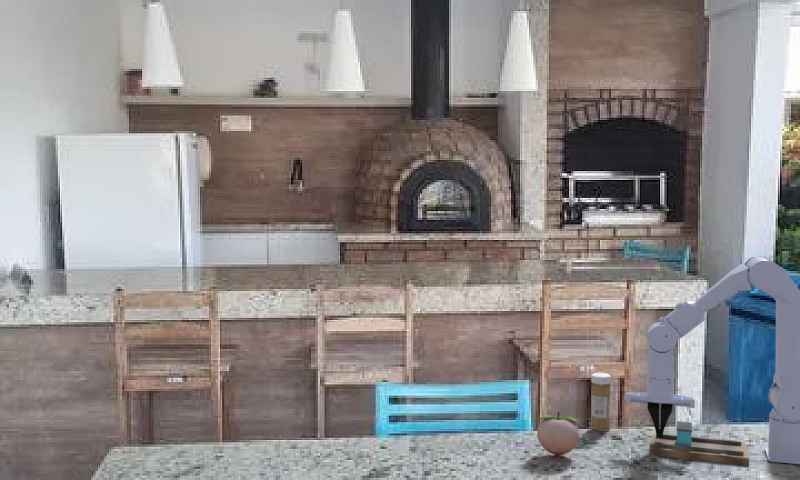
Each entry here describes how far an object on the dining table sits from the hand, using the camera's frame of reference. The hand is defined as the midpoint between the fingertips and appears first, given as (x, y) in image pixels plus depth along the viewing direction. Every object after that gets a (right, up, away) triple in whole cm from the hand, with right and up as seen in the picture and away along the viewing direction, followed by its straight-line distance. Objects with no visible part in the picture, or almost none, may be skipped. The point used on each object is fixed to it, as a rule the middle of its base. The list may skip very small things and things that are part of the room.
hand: (659, 435), depth 178 cm
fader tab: (+5, -1, -2) cm, 5 cm away
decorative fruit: (-24, -4, -4) cm, 24 cm away
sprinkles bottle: (-10, -2, +14) cm, 17 cm away
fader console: (+8, -3, -2) cm, 9 cm away
